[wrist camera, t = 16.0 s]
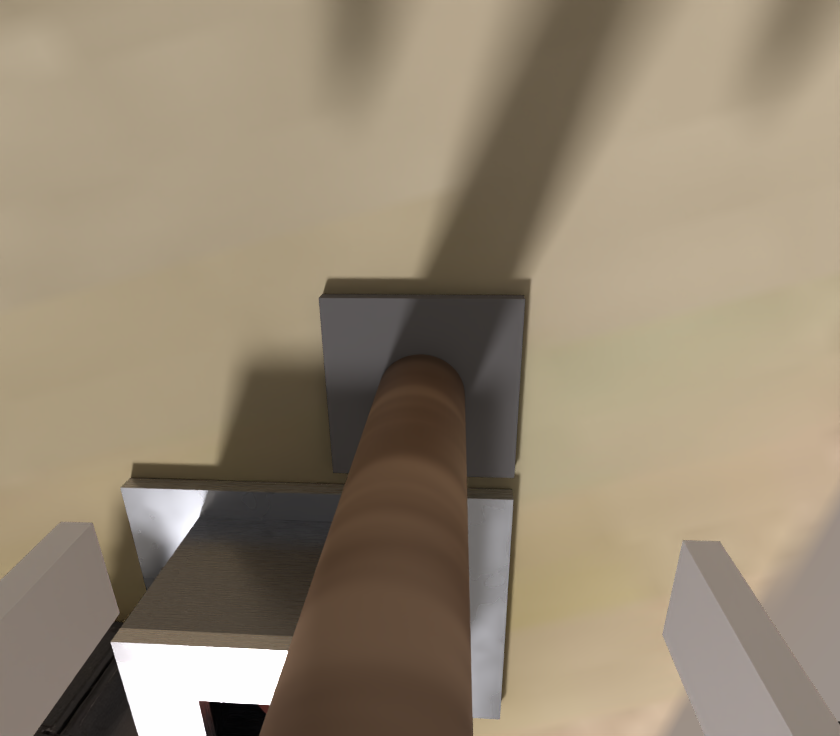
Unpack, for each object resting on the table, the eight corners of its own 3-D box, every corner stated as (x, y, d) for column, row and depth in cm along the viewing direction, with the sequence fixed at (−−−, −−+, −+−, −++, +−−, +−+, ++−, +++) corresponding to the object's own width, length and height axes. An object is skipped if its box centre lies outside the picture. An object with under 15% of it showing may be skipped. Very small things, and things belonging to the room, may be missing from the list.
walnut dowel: (376, 353, 22) (208, 766, 7) (465, 355, 22) (479, 782, 7) (380, 432, 23) (244, 917, 9) (464, 434, 23) (473, 935, 8)
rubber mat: (322, 294, 22) (318, 297, 21) (523, 295, 21) (525, 299, 21) (336, 465, 25) (333, 472, 24) (512, 470, 24) (513, 478, 24)
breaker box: (130, 477, 26) (3, 604, 19) (511, 489, 25) (532, 629, 18) (181, 687, 31) (97, 849, 24) (498, 705, 30) (511, 881, 23)
